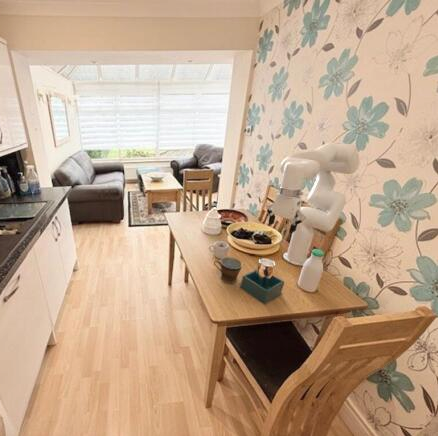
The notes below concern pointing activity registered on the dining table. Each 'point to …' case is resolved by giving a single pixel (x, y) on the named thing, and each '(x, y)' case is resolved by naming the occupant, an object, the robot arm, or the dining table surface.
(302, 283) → the milk bottle
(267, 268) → the beer glass
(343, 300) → the dining table surface
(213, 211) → the honey pot
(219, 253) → the cup
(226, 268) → the ceramic cup
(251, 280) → the tub
